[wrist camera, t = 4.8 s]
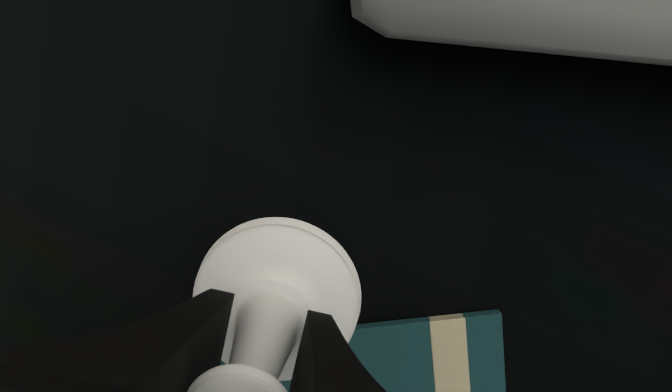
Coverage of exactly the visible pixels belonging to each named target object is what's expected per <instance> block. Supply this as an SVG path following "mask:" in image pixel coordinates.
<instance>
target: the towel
mask: <svg viewBox="0 0 672 392" xmlns="http://www.w3.org/2000/svg"><path fill="white" fill-rule="evenodd" d="M348 345H349V346H350V348H351V349H352V351H353V352H354V354H355V355H356V356H357V358H358V359H359V361H360V362H361V363H362V364H363V366H364V367H365V368H366V370H367V371H368V372H369V373H370V374H371V376H372V377H373V378H374V379H375V380H376V381H377V382H378V383H379V384H380V385H381V386H382V387H383V388H384V389H385V390H386V391H387V392H506V385H505V366H504V348H503V329H502V314H501V312H500V311H499V310H498V309H496V310H486V311H477V312H468V313H458V314H449V315H440V316H430V317H421V318H412V319H402V320H393V321H384V322H374V323H365V324H356V328H355V330H354V333H353V335H352V337H351V339H350V341H349V343H348ZM225 364H226V363H224V362H223V361H222V360H221V363H220V366H221V365H225ZM280 383H281V384H282V385H283V386H284V387H285V389H286V390H287V392H289V388H290V383H291V380H287V381H280Z"/></svg>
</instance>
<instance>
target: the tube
mask: <svg viewBox="0 0 672 392" xmlns="http://www.w3.org/2000/svg"><path fill="white" fill-rule="evenodd" d="M350 2H351V10H352V17H353V18H355V19H356V20H358V21H360V22H361V23H363V24H365V25H366V26H368V27H370V28H371V29H373V30H374V31H376V32H378V33H379V34H381V35H383V36H384V37H386V38H395V39H406V40H416V41H426V42H436V43H446V44H456V45H466V46H476V47H486V48H496V49H506V50H517V51H527V52H537V53H547V54H557V55H567V56H577V57H587V58H597V59H607V60H617V61H628V62H638V63H648V64H658V65H668V66H672V0H350Z"/></svg>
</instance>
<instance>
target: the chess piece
mask: <svg viewBox="0 0 672 392" xmlns="http://www.w3.org/2000/svg"><path fill="white" fill-rule="evenodd" d="M211 288H212V289H216V290H221V291H225V292H230V293H234V294H235V295H234V300H233V305H232V309H231V314H230V319H229V324H228V329H227V334H226V339H225V344H224V349H223V353H222V358H221V360H222V361H223V362H224V363H226V364H225V365H221V366H217V367H214V368H212V369H210V370H208V371H206V372H204V373H203V374H201V375H200V376H199V377H198V378H197V379H196V380H195V381H194V382H193V383H192V384H191V386H190V387H189V389H188V391H187V392H287V390H286V389H285V387H284V386H283V385H282V384H281V383H280V381H287V380H291V378H292V374H293V370H294V366H295V362H296V358H297V353H298V349H299V345H300V341H301V337H302V333H303V328H304V324H305V320H306V316H307V312H308V310H311V311H316V312H320V313H325V314H329V315H332V317H333V319H334V320H335V322H336V324H337V326H338V327H339V329H340V331H341V333H342V335H343V336H344V338H345V340H346V341H347V343H349V341H350V339H351V337H352V335H353V333H354V330H355V328H356V324H357V321H358V317H359V313H360V308H361V287H360V281H359V277H358V274H357V271H356V269H355V266H354V264H353V262H352V261H351V259H350V257H349V256H348V254H347V253H346V251H345V250H344V249H343V248H342V246H341V245H340V244H339V243H338V242H337V241H336V240H335V239H334V238H332V237H331V236H330V235H329V234H327V233H326V232H324V231H323V230H321V229H319V228H317V227H316V226H313V225H311V224H309V223H306V222H303V221H300V220H296V219H292V218H284V217H267V218H260V219H255V220H252V221H248V222H246V223H243V224H241V225H239V226H237V227H235V228H233V229H231V230H230V231H228V232H227V233H225V234H224V235H223V236H222V237H221V238H219V239H218V240H217V241H216V242H215V244H214V245H213V246H212V247H211V248H210V250H209V251H208V253H207V254H206V256H205V258H204V260H203V262H202V264H201V266H200V269H199V272H198V274H197V277H196V280H195V284H194V289H193V297H194V296H196V295H198V294H200V293H202V292H204V291H206V290H208V289H211Z"/></svg>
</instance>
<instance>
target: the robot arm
mask: <svg viewBox="0 0 672 392" xmlns="http://www.w3.org/2000/svg"><path fill="white" fill-rule="evenodd" d="M234 295H235V294H234V293H230V292H225V291H221V290H216V289H212V288H211V289H208V290H206V291H204V292H202V293H200V294H198V295H196V296H194V297H192V298H190V299H188V300H186V301H184V302H182V303H180V304H178V305H176V306H174V307H172V308H170V309H168V310H165V311H163V312H161V313H158V314H156V315H153V316H151V317H148V318H146V319H144V320H141V321H138V322H136V323H133V324H130V325H127V326H124V327H120V328H117V329H113V330H110V331H106V332H102V333H98V334H93V335H87V336H82V337H77V338H72V339H67V340H61V341H54V342H45V343H36V344H25V345H11V346H0V392H187V391H188V389H189V387H190V386H191V384H192V383H193V382H194V381H195V380H196V379H197V378H198V377H199V376H200V375H201V374H203V373H204V372H206V371H208V370H210V369H212V368H214V367H217V366H220V363H221V358H222V353H223V349H224V344H225V339H226V334H227V329H228V324H229V319H230V314H231V309H232V305H233V300H234ZM289 392H387V391H386V390H385V389H384V388H383V387H382V386H381V385H380V384H379V383H378V382H377V381H376V380H375V379H374V378H373V377H372V376H371V374H370V373H369V372H368V371H367V370H366V368H365V367H364V366H363V364H362V363H361V362H360V361H359V359H358V358H357V356H356V355H355V354H354V352H353V351H352V349H351V348H350V346H349V345H348V343H347V341H346V340H345V338H344V336H343V335H342V333H341V331H340V329H339V327H338V326H337V324H336V322H335V320H334V319H333V317H332V315H329V314H325V313H320V312H316V311H311V310H308V312H307V316H306V320H305V324H304V328H303V333H302V337H301V341H300V345H299V349H298V353H297V358H296V362H295V366H294V370H293V374H292V378H291V383H290V388H289Z"/></svg>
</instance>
